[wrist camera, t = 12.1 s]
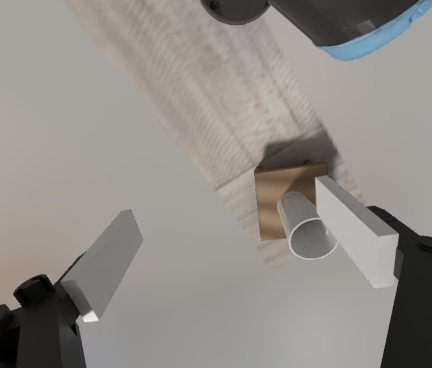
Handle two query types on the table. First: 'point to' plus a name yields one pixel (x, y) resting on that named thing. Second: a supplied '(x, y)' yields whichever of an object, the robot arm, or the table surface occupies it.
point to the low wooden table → (279, 185)
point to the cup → (305, 227)
